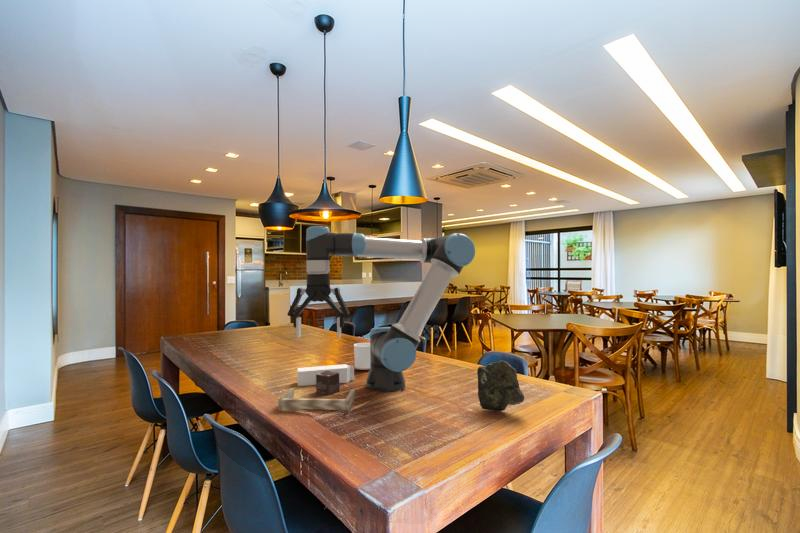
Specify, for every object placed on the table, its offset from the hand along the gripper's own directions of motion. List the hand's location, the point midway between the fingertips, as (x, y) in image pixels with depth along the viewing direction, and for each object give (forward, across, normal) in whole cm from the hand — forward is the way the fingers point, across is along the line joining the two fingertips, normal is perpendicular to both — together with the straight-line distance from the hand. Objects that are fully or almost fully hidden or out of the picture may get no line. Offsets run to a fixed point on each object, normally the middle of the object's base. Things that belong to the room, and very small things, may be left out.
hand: (318, 337), depth 127 cm
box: (+23, 0, -11) cm, 25 cm away
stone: (+23, -59, +2) cm, 63 cm away
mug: (+23, -8, -47) cm, 53 cm away
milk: (+19, +14, -20) cm, 32 cm away
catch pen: (+22, 0, +1) cm, 22 cm away
